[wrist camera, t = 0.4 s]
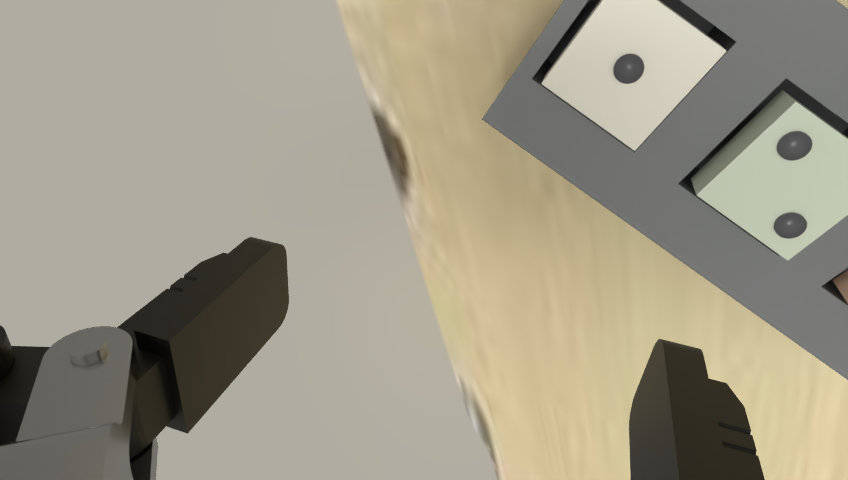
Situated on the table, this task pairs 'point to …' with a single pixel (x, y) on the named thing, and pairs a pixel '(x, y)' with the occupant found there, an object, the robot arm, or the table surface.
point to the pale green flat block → (780, 176)
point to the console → (707, 152)
